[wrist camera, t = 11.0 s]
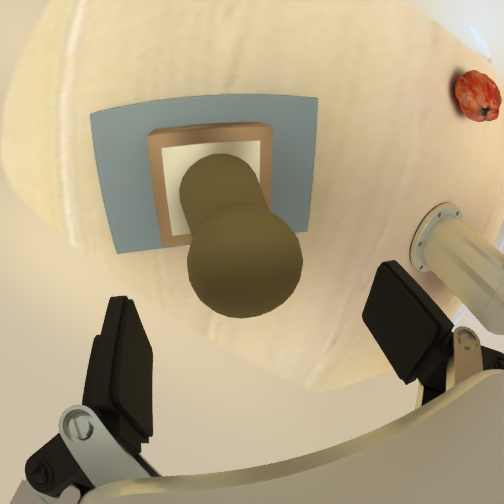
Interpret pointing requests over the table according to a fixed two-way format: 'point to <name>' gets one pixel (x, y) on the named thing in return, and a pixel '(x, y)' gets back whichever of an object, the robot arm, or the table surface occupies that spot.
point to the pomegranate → (478, 96)
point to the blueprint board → (194, 113)
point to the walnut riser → (190, 151)
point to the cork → (236, 240)
